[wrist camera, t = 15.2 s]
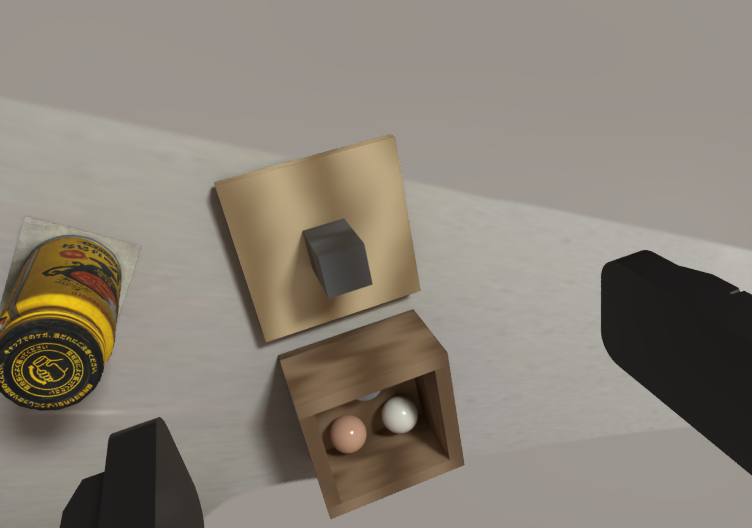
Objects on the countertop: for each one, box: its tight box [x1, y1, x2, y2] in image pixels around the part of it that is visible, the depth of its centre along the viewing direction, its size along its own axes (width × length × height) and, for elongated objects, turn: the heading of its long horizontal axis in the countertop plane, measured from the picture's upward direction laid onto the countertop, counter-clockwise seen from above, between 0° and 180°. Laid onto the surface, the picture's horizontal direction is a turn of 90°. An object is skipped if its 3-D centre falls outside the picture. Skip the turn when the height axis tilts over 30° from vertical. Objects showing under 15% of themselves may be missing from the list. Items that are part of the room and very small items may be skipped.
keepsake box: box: [278, 309, 464, 519], centre depth 49 cm, size 12×12×7 cm
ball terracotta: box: [330, 415, 367, 453], centre depth 51 cm, size 3×3×3 cm
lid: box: [214, 134, 421, 342], centre depth 42 cm, size 13×13×7 cm
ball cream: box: [382, 396, 418, 433], centre depth 52 cm, size 3×3×3 cm
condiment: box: [0, 216, 141, 410], centre depth 36 cm, size 7×8×12 cm
